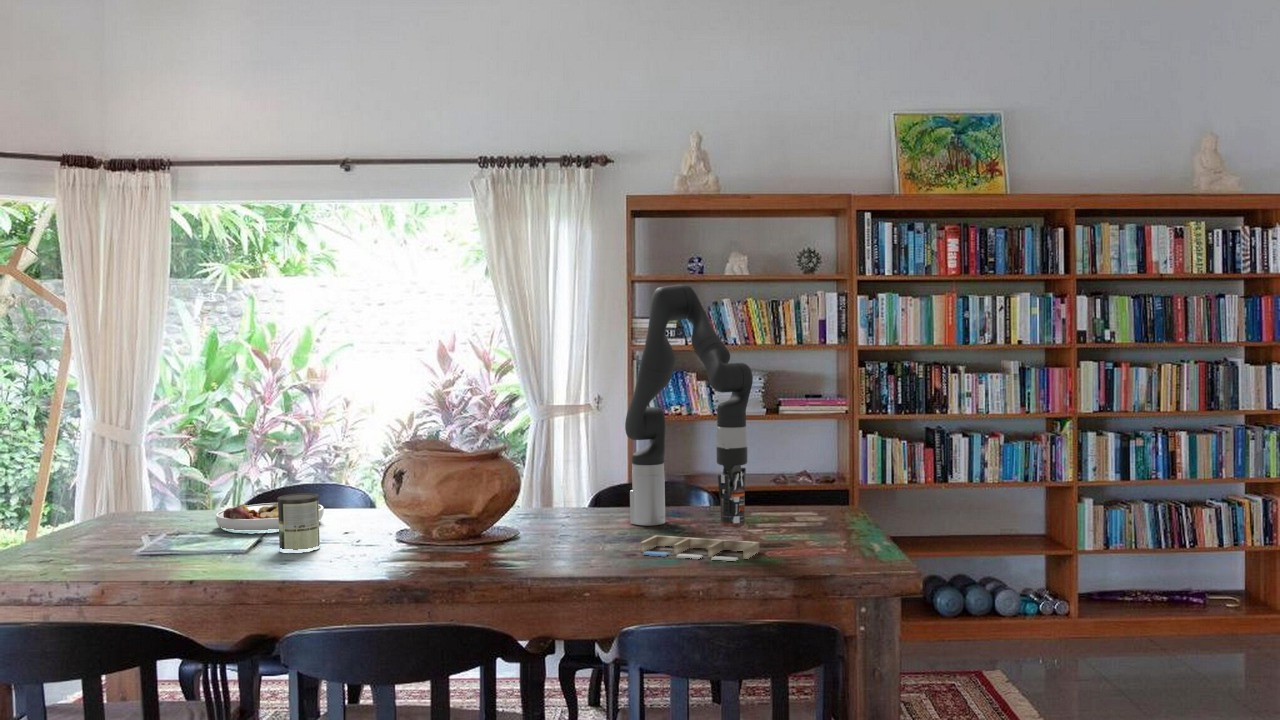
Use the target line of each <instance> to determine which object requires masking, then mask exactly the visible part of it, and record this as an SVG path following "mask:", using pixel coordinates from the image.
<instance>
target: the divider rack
mask: <svg viewBox="0 0 1280 720" xmlns="http://www.w3.org/2000/svg"><path fill="white" fill-rule="evenodd" d="M639 543H640V544H639V546H640V547H639V548H640V552H639V553H643V552H645V551H647V550H648V551H650V550H652V549H655V548H656V546H657V547H665V546H670V548H673V555H674V554H675V555H674V556H676V555H678V554H682V553H684V552H686V551H688V550H689V548H690V549H693V548H706V549H705V550H707V557H708V556H713V555H715V554H717V553H719V552H720V551H722V550H736V551H735V552H737V551H743V552H742V554H743V556H742V560H743V559H748V560H750V559H751V558H753V557H754V556H756V555H757V554H759V553H760V542H759V541H750V540H749V541H748V540H732V539H714V538H704V537H703V538H702V537H701V538H700V537H688V536H687V537H685V536H673V535H672V536H671V535H670V536H668V535H653V536H651V537H649V538H647V539H645V540H642V541H641V542H639ZM671 546H672V547H671ZM654 547H655V548H654ZM649 549H650V550H649ZM687 549H688V550H687ZM685 550H686V551H685ZM683 551H684V552H683ZM681 552H682V553H681ZM722 552H723V551H722ZM758 552H759V553H758ZM720 553H721V552H720ZM720 553H719V554H720ZM756 553H757V554H756ZM755 554H756V555H755ZM717 555H718V554H717ZM753 555H754V556H753ZM715 556H716V555H715ZM752 556H753V557H752ZM750 557H751V558H750ZM749 558H750V559H749Z"/></svg>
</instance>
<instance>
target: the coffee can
mask: <svg viewBox="0 0 1280 720" xmlns="http://www.w3.org/2000/svg"><path fill="white" fill-rule="evenodd" d="M319 496H320V495H319V494H318V493H307V492H306V493H302V492H301V493H292V494H285V495H281V496H278V497H277V503H278V516H279V533H278V537H279V538H278V539H279V549H280V548H282V549H293V550H298V549H308V548H313V547H316V546H319V545H320V546H321V543H320V541H321V540H320V521H319V507H318V504H319V498H320V497H319Z"/></svg>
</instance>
